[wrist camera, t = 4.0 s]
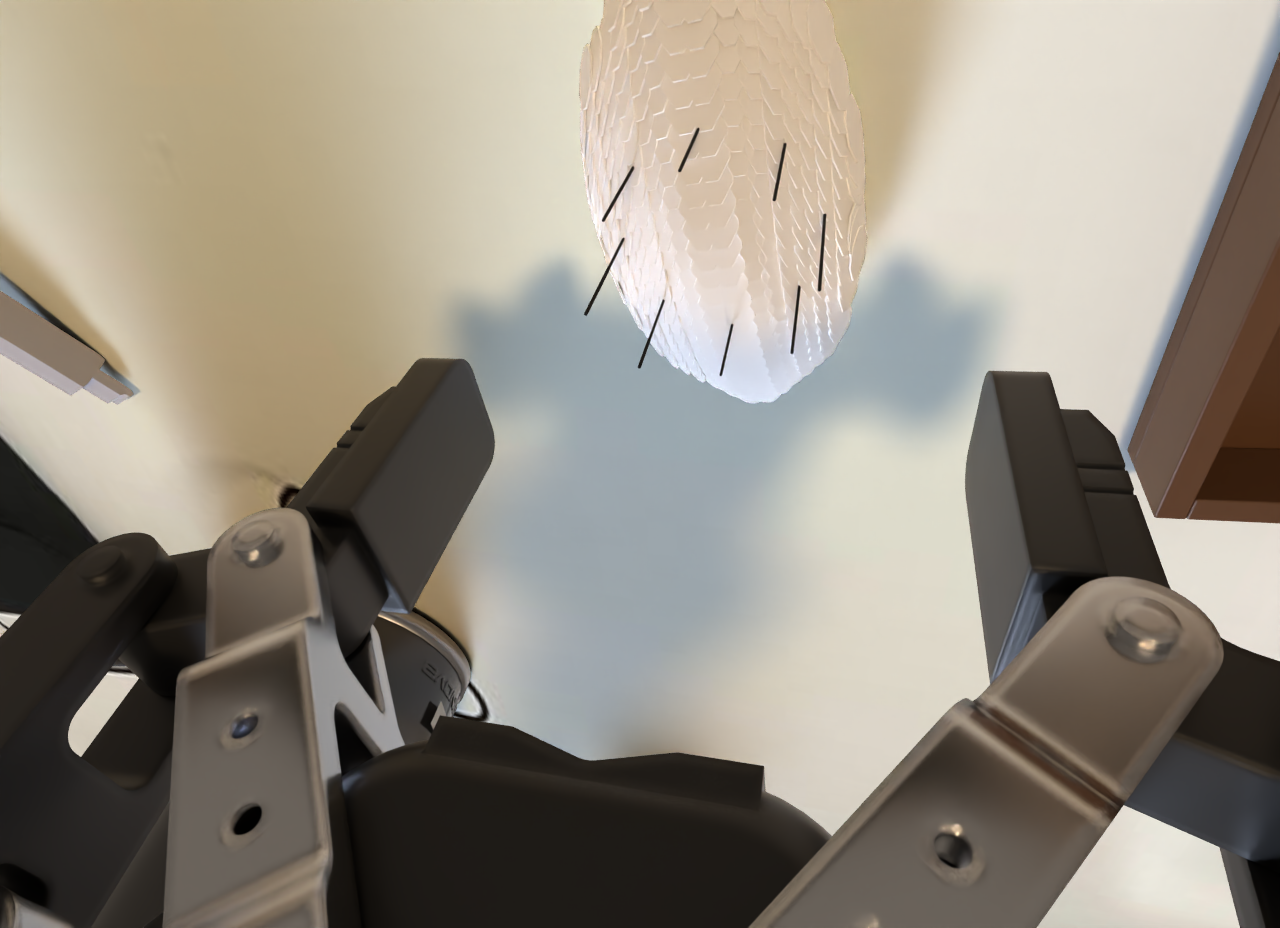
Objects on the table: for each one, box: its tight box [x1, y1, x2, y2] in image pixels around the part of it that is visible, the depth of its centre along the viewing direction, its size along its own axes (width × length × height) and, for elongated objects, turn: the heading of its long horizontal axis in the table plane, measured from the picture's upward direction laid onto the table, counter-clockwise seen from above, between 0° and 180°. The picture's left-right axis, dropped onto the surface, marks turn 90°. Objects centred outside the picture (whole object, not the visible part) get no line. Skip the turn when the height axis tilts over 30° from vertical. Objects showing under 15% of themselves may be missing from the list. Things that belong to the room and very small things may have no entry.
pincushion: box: [579, 0, 867, 403], centre depth 15 cm, size 12×6×6 cm, turn 14°
